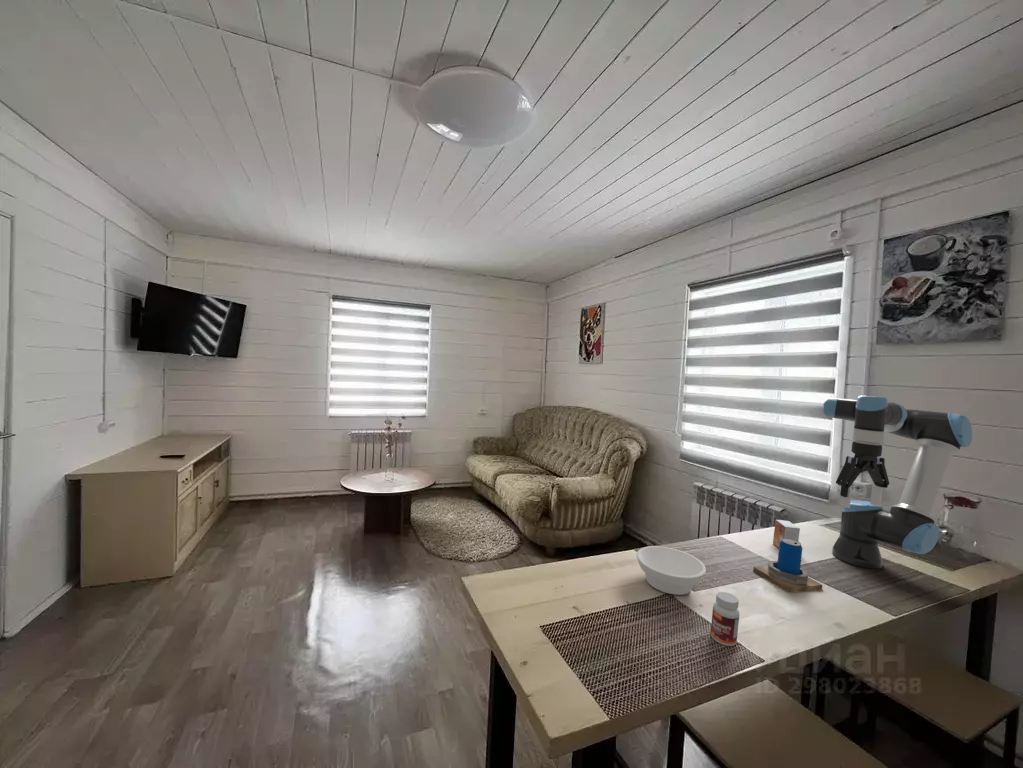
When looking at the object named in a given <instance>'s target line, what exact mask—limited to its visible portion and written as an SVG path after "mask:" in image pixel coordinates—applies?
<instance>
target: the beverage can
mask: <svg viewBox="0 0 1023 768" xmlns="http://www.w3.org/2000/svg"><path fill="white" fill-rule="evenodd" d="M802 555H803V546H802V543H801V542H800V541H796V540H793V539H789V538H782V540H781V541H780V545H779V548H778V555H777V561H778V563H777V569H778V570H780V571H782V572H785V573H789V574H793V575H800V568H801V566H802V565H801V563H802Z"/></svg>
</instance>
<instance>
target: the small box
mask: <svg viewBox="0 0 1023 768" xmlns="http://www.w3.org/2000/svg"><path fill="white" fill-rule="evenodd" d="M773 530H774V531H773V538H772V539H773V540H772V544H773V546H775V547H777V548H778V549H779V545H780V541H781V540H782V538H789V539H793V540H796V541H798V542H800V540H799V539H800V530H801V529H800V527H798V526H797V525H795V524H793V523H792V522H791V521H790V520H783V519H775V521H774V529H773Z"/></svg>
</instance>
